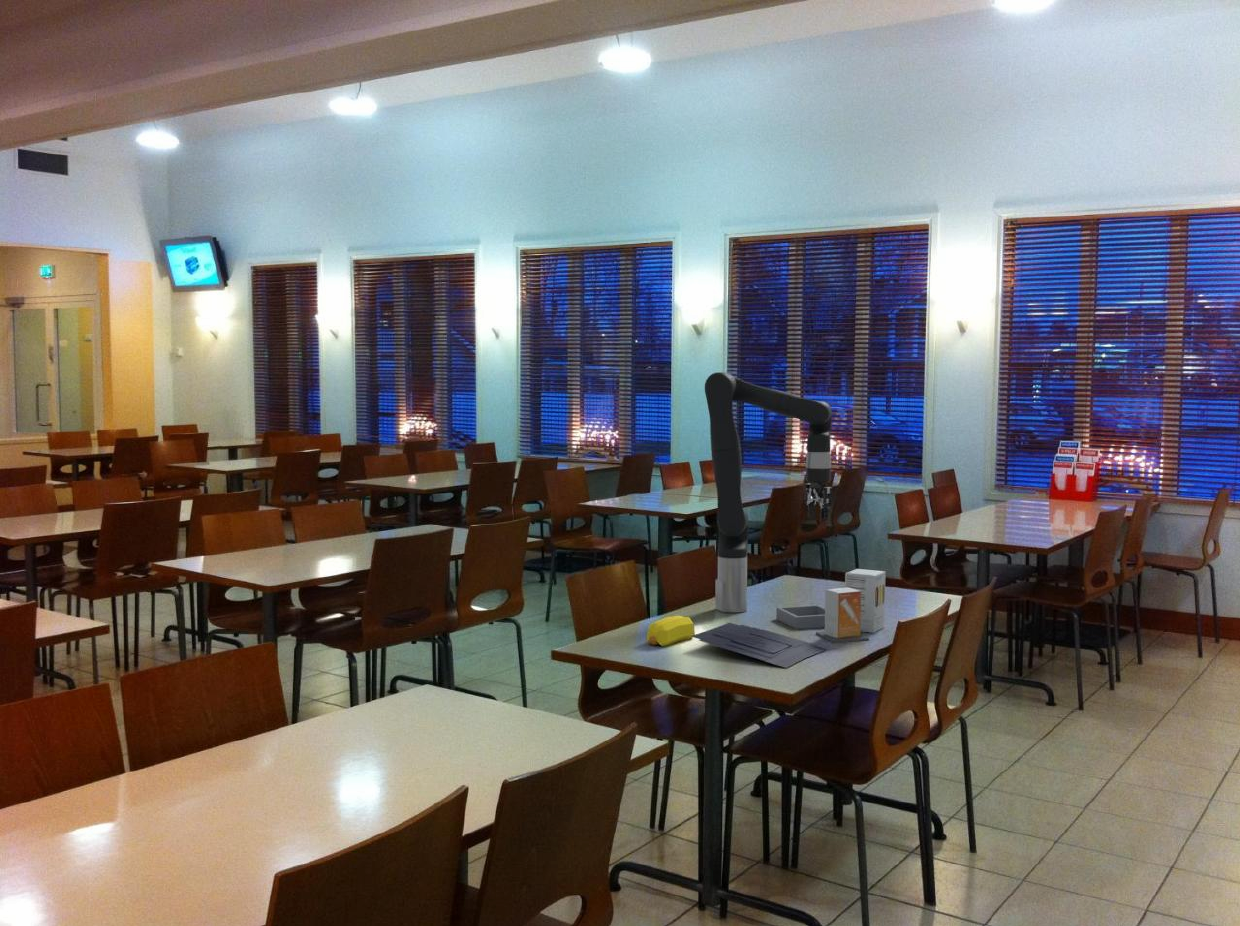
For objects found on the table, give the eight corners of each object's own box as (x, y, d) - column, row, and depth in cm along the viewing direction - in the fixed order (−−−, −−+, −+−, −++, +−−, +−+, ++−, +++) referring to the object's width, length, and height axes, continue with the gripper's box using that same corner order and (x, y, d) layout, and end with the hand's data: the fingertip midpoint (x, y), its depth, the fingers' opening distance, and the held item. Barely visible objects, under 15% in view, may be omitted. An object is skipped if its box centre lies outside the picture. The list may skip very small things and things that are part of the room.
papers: (731, 630, 314) (733, 618, 313) (826, 658, 296) (828, 645, 296) (685, 647, 294) (687, 634, 294) (784, 678, 277) (786, 664, 276)
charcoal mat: (833, 642, 304) (833, 640, 304) (815, 634, 314) (815, 632, 314) (869, 640, 307) (869, 638, 307) (850, 631, 317) (850, 629, 317)
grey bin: (796, 628, 321) (796, 617, 320) (776, 618, 334) (776, 607, 334) (839, 625, 325) (839, 614, 324) (818, 616, 338) (818, 604, 338)
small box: (837, 639, 306) (838, 593, 305) (824, 634, 311) (824, 589, 310) (861, 636, 309) (861, 590, 308) (847, 631, 315) (847, 586, 314)
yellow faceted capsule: (639, 645, 302) (661, 649, 297) (639, 621, 302) (661, 625, 297) (679, 633, 316) (701, 638, 311) (679, 611, 315) (701, 614, 310)
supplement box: (874, 633, 315) (874, 575, 314) (843, 629, 320) (844, 572, 319) (885, 627, 323) (886, 570, 322) (855, 623, 328) (856, 567, 327)
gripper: (840, 468, 330) (839, 521, 331) (819, 464, 343) (818, 515, 344) (817, 468, 328) (817, 522, 329) (797, 465, 341) (796, 516, 342)
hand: (817, 518), depth 337 cm, fingers open, 8 cm apart
